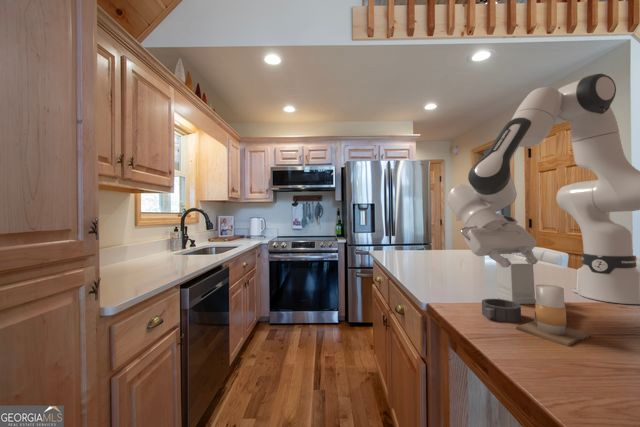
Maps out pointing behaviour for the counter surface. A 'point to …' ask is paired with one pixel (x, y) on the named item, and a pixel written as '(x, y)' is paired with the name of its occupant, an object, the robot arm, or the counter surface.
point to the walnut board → (566, 339)
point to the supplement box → (516, 282)
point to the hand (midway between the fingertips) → (521, 264)
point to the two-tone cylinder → (550, 309)
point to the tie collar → (501, 310)
